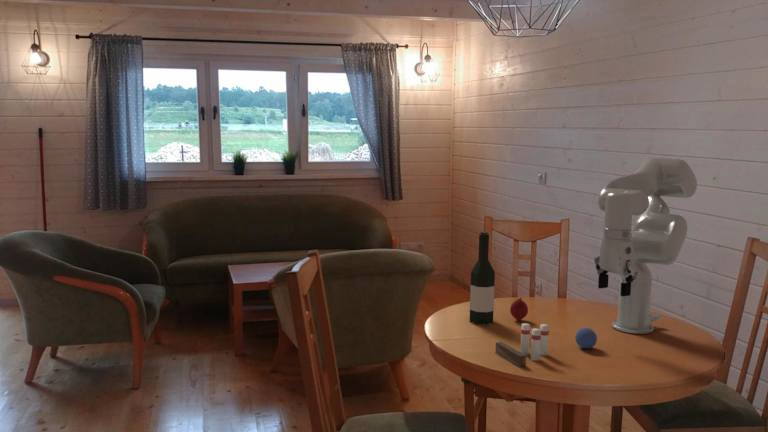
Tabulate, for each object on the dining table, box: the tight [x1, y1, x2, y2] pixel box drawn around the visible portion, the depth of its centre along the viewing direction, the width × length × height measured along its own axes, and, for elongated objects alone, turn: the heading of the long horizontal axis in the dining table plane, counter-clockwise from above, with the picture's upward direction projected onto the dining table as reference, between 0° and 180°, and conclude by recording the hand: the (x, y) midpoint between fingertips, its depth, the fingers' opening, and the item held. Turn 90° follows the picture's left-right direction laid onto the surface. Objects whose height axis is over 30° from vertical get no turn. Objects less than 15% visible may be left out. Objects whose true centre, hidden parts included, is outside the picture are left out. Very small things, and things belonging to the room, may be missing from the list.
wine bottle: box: [469, 230, 496, 326], centre depth 214 cm, size 8×8×30 cm
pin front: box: [539, 323, 550, 357], centre depth 184 cm, size 2×2×8 cm
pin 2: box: [530, 328, 541, 362], centre depth 180 cm, size 2×2×8 cm
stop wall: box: [495, 341, 527, 368], centre depth 180 cm, size 2×12×3 cm, turn 22°
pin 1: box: [519, 322, 531, 356], centre depth 185 cm, size 2×2×8 cm
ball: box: [575, 327, 598, 350], centre depth 190 cm, size 6×6×6 cm
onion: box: [509, 296, 529, 321], centre depth 216 cm, size 6×6×8 cm
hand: (613, 291), depth 192 cm, fingers open, 9 cm apart
